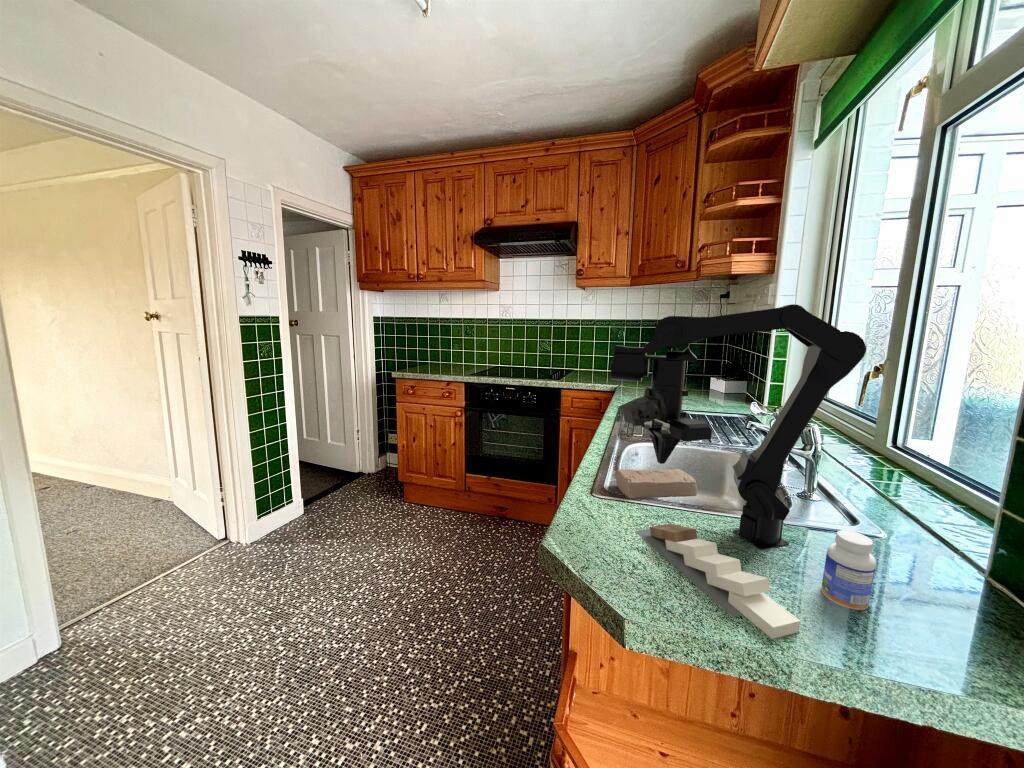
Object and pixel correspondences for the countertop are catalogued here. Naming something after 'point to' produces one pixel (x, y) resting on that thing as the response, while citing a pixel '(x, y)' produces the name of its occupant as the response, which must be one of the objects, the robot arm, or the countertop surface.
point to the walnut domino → (673, 532)
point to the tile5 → (765, 614)
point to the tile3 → (714, 564)
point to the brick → (655, 483)
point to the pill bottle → (849, 570)
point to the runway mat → (691, 573)
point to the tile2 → (693, 547)
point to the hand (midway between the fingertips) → (661, 463)
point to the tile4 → (740, 583)
